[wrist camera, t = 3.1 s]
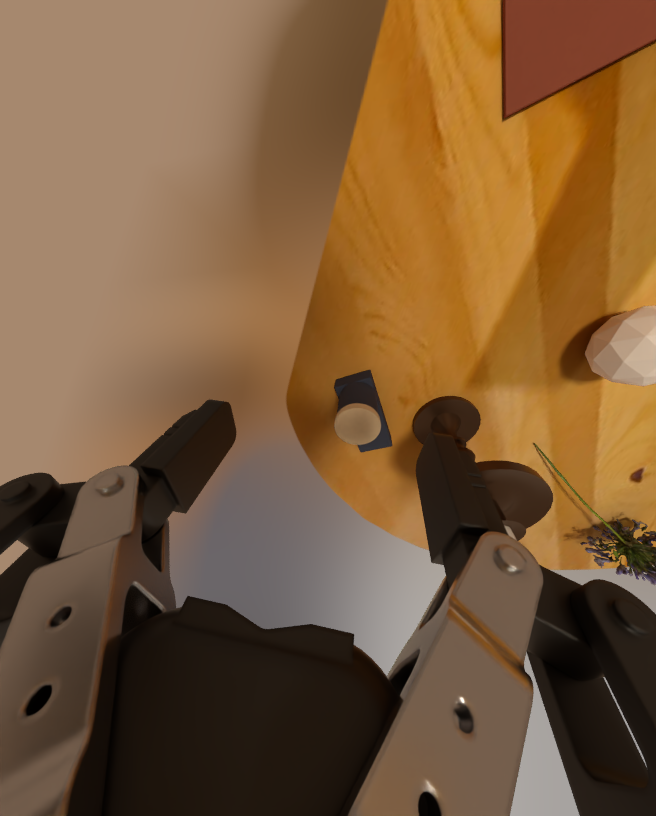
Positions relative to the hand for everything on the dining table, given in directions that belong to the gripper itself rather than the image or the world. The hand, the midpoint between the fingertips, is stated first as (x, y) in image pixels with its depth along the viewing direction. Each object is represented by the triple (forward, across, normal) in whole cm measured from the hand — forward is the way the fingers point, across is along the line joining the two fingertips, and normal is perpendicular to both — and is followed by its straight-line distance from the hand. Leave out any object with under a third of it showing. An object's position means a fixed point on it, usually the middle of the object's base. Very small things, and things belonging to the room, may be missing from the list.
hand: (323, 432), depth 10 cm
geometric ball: (+24, -29, +1) cm, 38 cm away
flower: (+24, -41, +28) cm, 55 cm away
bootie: (+22, -3, +14) cm, 27 cm away
